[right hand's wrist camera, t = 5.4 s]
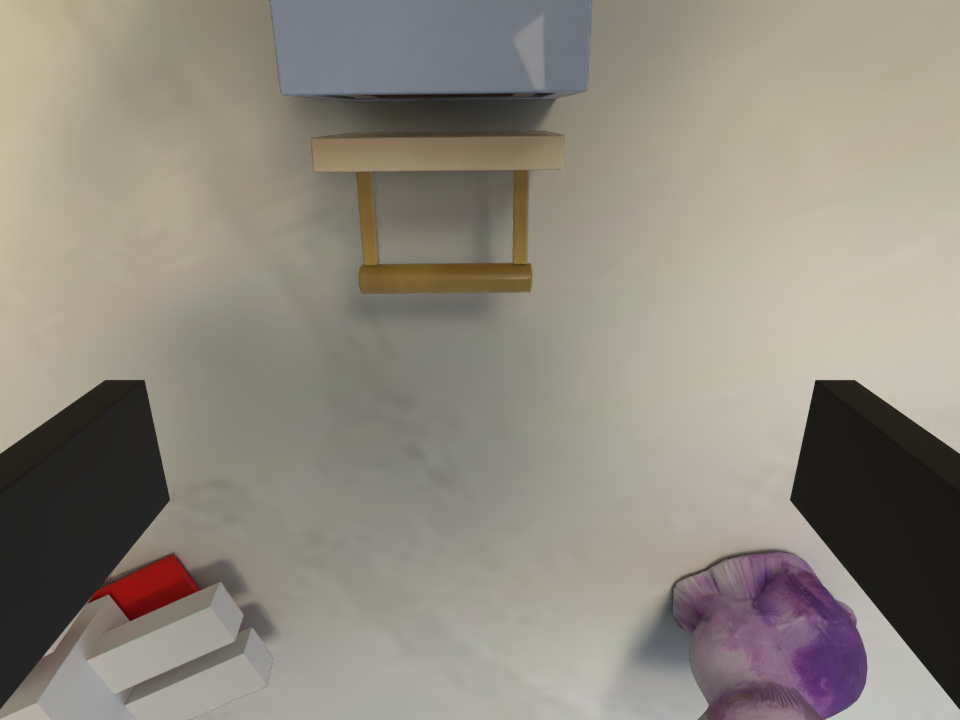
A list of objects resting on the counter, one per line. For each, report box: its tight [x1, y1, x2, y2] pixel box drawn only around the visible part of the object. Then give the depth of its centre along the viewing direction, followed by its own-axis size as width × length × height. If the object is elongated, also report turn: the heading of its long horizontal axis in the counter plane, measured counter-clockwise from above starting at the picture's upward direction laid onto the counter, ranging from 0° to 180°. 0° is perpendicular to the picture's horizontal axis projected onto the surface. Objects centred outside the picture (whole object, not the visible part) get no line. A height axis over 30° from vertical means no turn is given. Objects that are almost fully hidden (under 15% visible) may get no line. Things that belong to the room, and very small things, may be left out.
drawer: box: [311, 93, 565, 294], centre depth 24 cm, size 22×9×7 cm, turn 1°
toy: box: [0, 554, 274, 720], centre depth 37 cm, size 12×13×30 cm
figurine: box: [673, 551, 867, 720], centre depth 33 cm, size 9×10×15 cm
